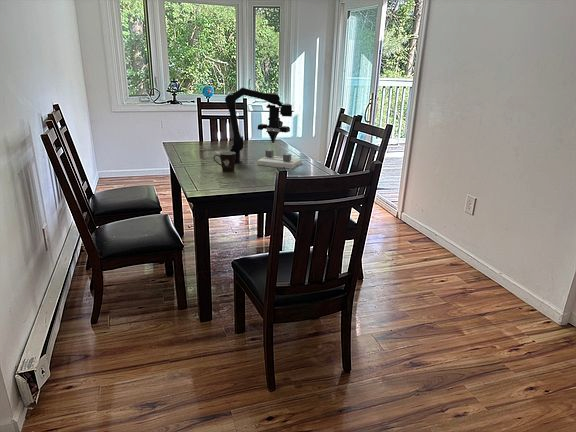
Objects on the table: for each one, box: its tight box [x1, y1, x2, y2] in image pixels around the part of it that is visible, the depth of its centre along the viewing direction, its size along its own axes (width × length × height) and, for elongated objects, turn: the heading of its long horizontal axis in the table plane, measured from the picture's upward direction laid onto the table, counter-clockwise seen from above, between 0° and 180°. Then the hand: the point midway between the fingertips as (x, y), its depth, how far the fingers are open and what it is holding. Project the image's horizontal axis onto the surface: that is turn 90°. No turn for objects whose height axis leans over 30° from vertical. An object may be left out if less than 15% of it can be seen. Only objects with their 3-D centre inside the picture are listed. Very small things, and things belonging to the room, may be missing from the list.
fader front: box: [282, 153, 292, 161], centre depth 253 cm, size 3×4×4 cm
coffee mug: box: [213, 151, 236, 173], centre depth 237 cm, size 12×9×10 cm
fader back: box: [265, 149, 274, 157], centre depth 263 cm, size 3×4×4 cm
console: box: [256, 155, 303, 170], centre depth 257 cm, size 16×22×3 cm
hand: (273, 142), depth 256 cm, fingers closed
